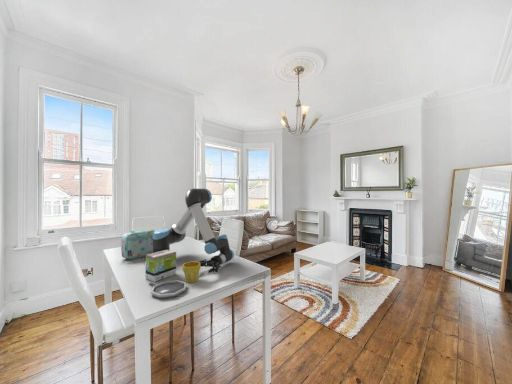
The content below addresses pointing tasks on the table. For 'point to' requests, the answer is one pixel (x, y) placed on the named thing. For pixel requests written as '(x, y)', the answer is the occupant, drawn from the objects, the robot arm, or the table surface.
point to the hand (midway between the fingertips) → (195, 271)
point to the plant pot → (191, 271)
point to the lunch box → (137, 244)
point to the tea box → (160, 265)
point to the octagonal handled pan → (168, 289)
